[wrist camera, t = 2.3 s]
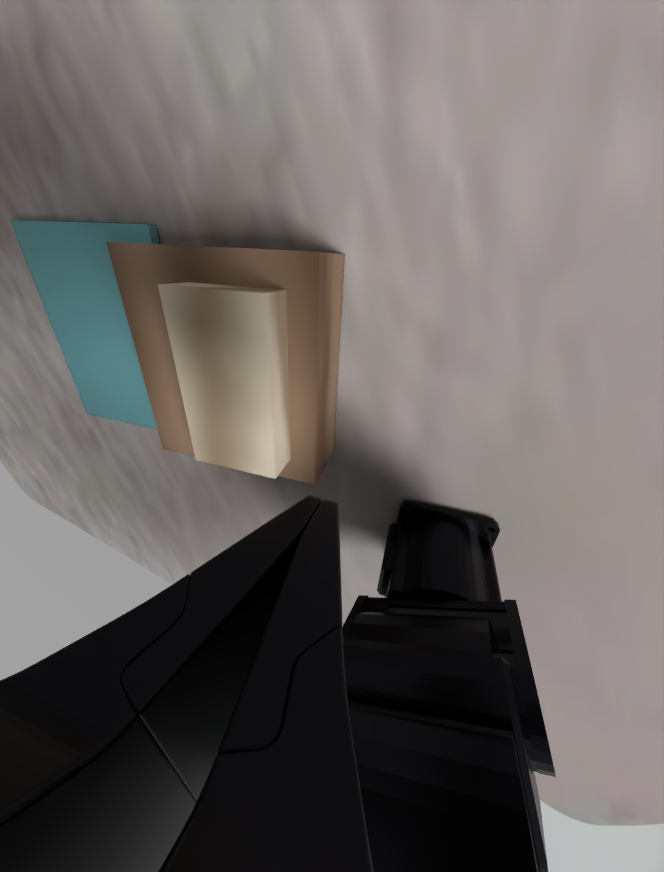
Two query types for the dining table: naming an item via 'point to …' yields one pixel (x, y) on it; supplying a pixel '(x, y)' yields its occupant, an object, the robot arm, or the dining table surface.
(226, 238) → the dining table surface
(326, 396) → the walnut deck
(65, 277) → the teal mat
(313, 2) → the dining table surface
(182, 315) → the birch tile
